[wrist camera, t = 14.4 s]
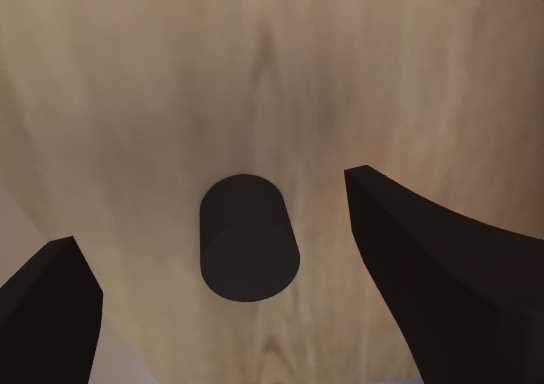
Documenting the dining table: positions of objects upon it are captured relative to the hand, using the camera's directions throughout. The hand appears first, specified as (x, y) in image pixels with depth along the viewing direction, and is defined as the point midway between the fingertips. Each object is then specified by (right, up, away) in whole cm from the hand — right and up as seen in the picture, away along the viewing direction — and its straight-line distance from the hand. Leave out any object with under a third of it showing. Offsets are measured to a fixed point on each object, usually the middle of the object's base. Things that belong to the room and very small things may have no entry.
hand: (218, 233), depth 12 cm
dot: (0, 0, +10) cm, 10 cm away
